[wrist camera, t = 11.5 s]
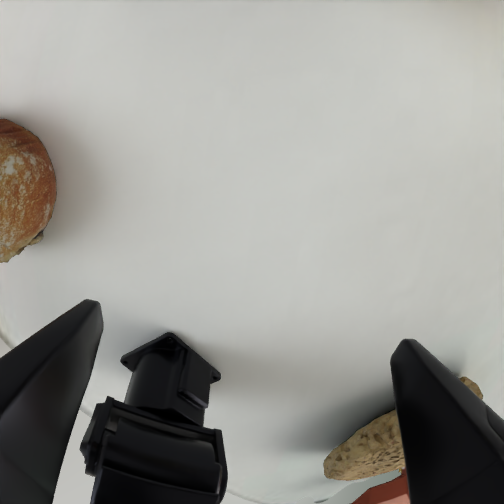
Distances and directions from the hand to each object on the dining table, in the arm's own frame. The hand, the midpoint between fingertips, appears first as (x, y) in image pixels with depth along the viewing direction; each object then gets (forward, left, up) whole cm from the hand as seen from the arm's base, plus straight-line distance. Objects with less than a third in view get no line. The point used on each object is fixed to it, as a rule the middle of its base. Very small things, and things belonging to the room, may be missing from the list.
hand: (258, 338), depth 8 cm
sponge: (-1, -32, -11) cm, 34 cm away
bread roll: (-13, +12, -11) cm, 21 cm away
